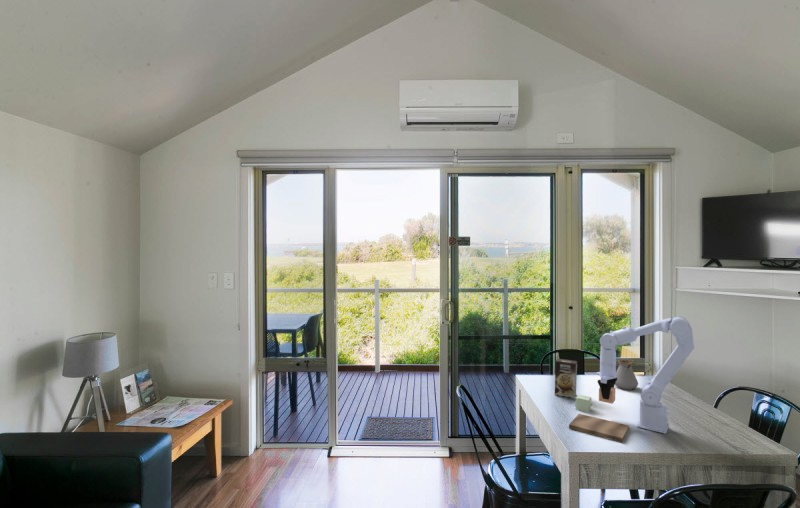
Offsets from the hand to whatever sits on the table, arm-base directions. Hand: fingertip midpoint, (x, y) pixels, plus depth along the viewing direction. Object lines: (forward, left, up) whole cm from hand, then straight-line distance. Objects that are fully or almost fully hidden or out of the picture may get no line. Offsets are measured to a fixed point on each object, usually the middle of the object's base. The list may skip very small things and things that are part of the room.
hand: (607, 396), depth 167 cm
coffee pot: (0, -44, -9) cm, 45 cm away
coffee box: (+21, -17, -9) cm, 28 cm away
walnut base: (0, +14, -8) cm, 16 cm away
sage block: (+10, -4, -8) cm, 14 cm away
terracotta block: (0, 0, -2) cm, 2 cm away
